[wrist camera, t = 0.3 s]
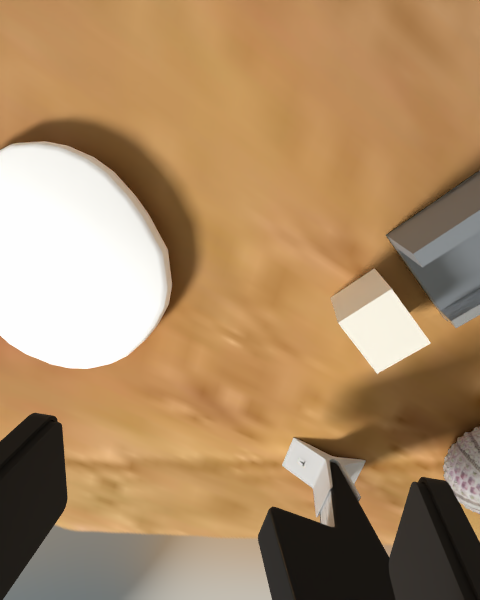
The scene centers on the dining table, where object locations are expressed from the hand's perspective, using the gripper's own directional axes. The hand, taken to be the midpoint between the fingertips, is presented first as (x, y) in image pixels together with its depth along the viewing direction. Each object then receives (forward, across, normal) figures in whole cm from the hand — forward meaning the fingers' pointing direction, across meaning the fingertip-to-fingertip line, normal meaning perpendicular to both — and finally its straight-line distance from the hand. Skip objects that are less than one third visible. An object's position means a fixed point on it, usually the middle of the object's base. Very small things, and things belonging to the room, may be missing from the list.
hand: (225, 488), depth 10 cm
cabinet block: (+36, -12, +6) cm, 38 cm away
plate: (+36, +26, +4) cm, 45 cm away
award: (+37, -10, +30) cm, 48 cm away
